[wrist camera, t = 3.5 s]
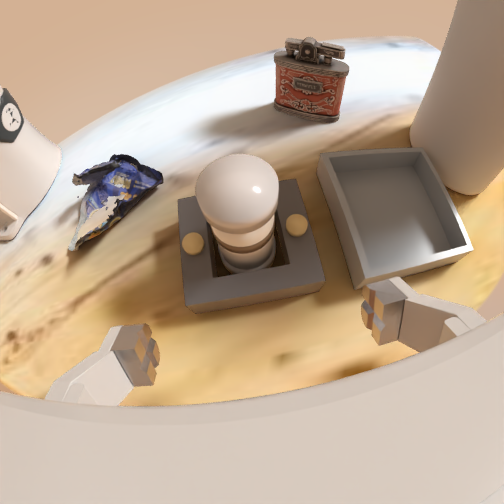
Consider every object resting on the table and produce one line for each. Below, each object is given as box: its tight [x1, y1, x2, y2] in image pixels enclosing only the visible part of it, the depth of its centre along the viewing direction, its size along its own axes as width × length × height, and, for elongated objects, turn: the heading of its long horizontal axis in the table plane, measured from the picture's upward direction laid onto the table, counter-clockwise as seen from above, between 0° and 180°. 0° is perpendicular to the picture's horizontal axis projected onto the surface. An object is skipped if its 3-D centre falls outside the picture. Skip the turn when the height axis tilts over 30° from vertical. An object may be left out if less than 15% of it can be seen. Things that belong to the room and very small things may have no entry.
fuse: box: [195, 154, 279, 274], centre depth 20 cm, size 5×5×10 cm
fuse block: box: [178, 179, 326, 314], centre depth 22 cm, size 10×9×4 cm
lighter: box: [274, 37, 349, 123], centre depth 26 cm, size 8×3×10 cm, turn 71°
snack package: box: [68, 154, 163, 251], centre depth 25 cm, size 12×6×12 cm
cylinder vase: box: [409, 0, 504, 195], centre depth 16 cm, size 12×12×25 cm
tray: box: [316, 147, 473, 290], centre depth 23 cm, size 12×12×3 cm
